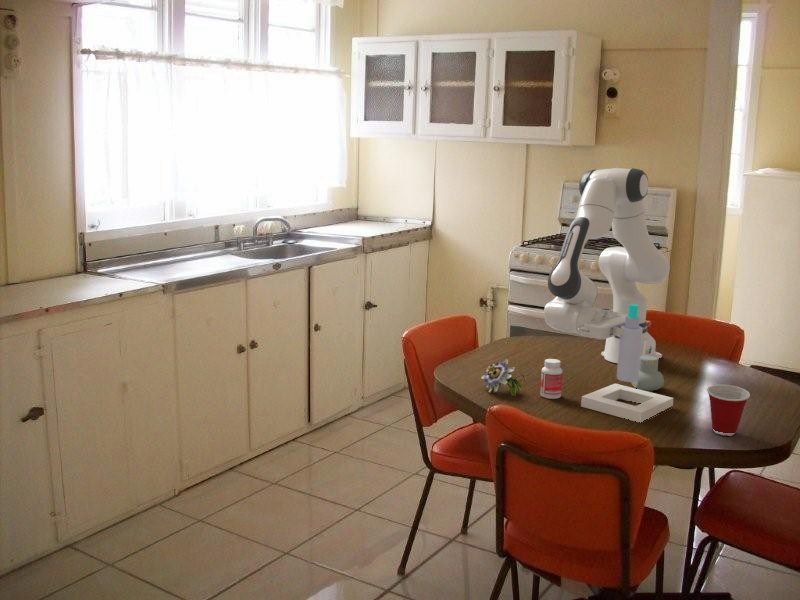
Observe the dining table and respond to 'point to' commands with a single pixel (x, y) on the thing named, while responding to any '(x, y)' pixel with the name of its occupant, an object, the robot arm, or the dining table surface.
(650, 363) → the air freshener
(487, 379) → the passion flower
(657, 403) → the hole block
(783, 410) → the dining table surface
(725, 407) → the plastic cup
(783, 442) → the dining table surface
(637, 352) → the spray bottle
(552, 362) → the pill bottle
